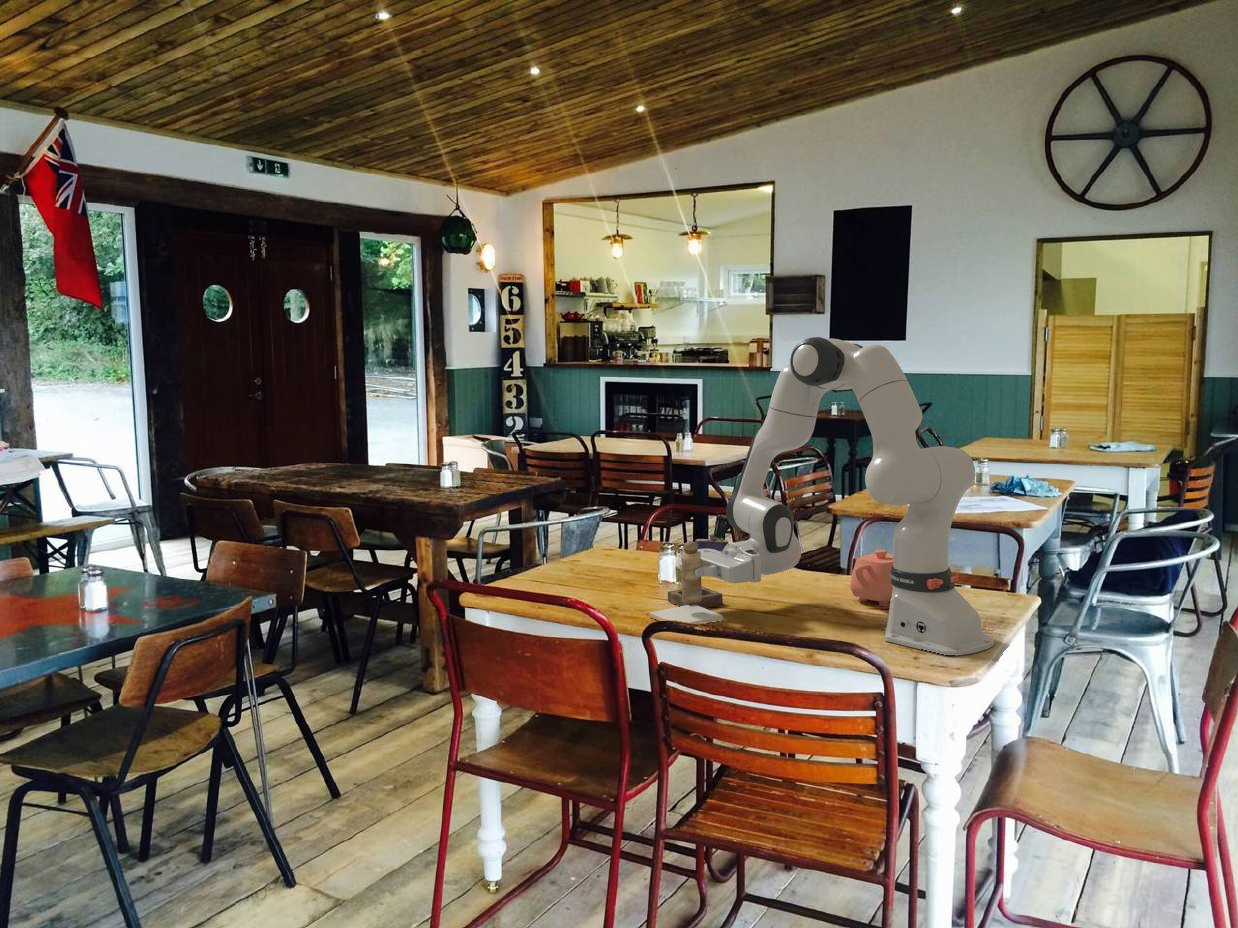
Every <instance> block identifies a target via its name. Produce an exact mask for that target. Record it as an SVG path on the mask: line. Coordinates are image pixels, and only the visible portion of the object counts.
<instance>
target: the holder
mask: <svg viewBox="0 0 1238 928" xmlns="http://www.w3.org/2000/svg"><path fill="white" fill-rule="evenodd" d="M701 586H702V601H700V602H695V603H689V602H684V601H683V600H682V588H681V589H676V590H671V591H667V602H668V601H669V602H671V603H670V604H672V603H673V604H672V605H674V604H676V605H675V606H677V605H678V606H677V607H679V606H685V605H689V606H690V605H698V606H700V607H703V608H705V609H707V608H710V607H715V606H721V605H723V604H724V603H723V602H724V601H723V593H721V592H718V591H715V590H714V589H710V588H707V587H706V586H703V585H701ZM669 602H668V603H669Z"/></svg>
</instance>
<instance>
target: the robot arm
mask: <svg viewBox="0 0 1238 928" xmlns="http://www.w3.org/2000/svg"><path fill="white" fill-rule="evenodd" d="M789 362H790V363H789V364H787V365H785V366H784V367H783V368H782V369H781V371H780V373H779V374H778V377H777V379H776V382H775V385H774V388H773V390H772V394H771V398H770V402H769V406H768V409H767V410H768V411H767V414H766V417H765V420H764V422H763V424H762V426H761V427H760V429H758V430H757V431H756V432H755V434H754V436H753V438H752V440H751V443H750V445H749V449H748V452H747V454H746V456H745V461H744V462H743V466H742V469H741V473H740V475H739V478H738V482H737V484H736V486H735V488H734V490H733V491H732V494H731V495H730V497H729V499H728V501H727V505H726V510H725V511H726V512H725V514H726V519H727V521H728V524H729V525H730V526H731V527H732V528H733V529H735V530H738V531H740V532H744V533H747V534H749V535H750V536H749V538H748V539H747V540H741V541H735V542H730V543H729V542H728V544H727V545H726V546H725V547H724V550H723V551H722V552H720V551H717V550H714V549H698V551H700V552H701V567H697V568H694V569H693V571H694V575H695V576H698V577H700V576H701V577H713V578H717V579H719V580H721V581H724V582H726V583H732V584H741V583H748V582H750V583H760V582H761V581H762V576H763V575H764V576H771V575H775V574H779V573H782V572H785V571H788V570H791V569H792V568H794V567H795V566H796V565H797V564H798V563H799V562H800V559H801V557H802V545H801V543H800V540H799V539H798V537H797V536H796V534H795V531H794V527H795V526H794V525H795V519H794V513H793V511H792V509H791V508H790V507H789V506H788V505H785V504H784V503H781V502H779V501H777V500H775V499H771V498H770V497H767V496H765V495H764V492H763V487H764V484H765V482H766V480H767V476H768V473H769V470H770V467H771V463H772V462H773V460H774V459H775V457H777V456H778V455H780V454H781V453H784V452H790V451H794V450H797V449H799V448H801V447H803V446H804V445H806V443H808V442H809V440H811V437H812V436H813V433H814V431H815V430H814V429H815V426H816V422H817V417H818V413H819V408H820V407H819V406H820V403H821V400H822V398H823V396H824V395H825V394H826V393H828V392H829V391H831V392H833V393H835V394H836V393H843V392H852V391H853V393H854V395H855V398H856V399H857V402H858V404H859V407H860V409H861V412H862V413H863V416H864V418H865V420H866V423H867V426H868V429H869V431H870V433H871V438H872V445H873V446H872V447H873V449H872V450H873V452H872V457H871V461H870V462H869V464H868V465H867V467H866V470H865V475H864V477H865V478H864V481H865V487H866V489H867V492H868V494H869V496H870V497H871V498H872V499H873V500H874V501H875V502H876V503H878V504H880V505H889V506H897V507H899V506H907V505H908V509H907V511H906V513H905V514H904V516H903V518H902V519H901V520H900V521H899V522H898V523H897V524H896V526H895V527H894V529H893V533H892V554H893V566H892V567H891V573H890V576H891V584H892V585H893V589H892V596H891V601H889V605H890V606H889V610H888V619H887V624H886V627H885V629H884V633H885V634H884V640H885V641H886V642H890V643H893V644H898V645H900V646H901V645H902V646H905V647H910V648H913V649H918V650H921V649H923V650H922V651H925V650H927V651H926V652H929V651H932V652H931V653H933V652H936V653H935V654H937V653H940V654H939V655H941V654H944V655H943V656H945V655H955V656H964V655H969V654H976V653H978V652H979V653H980V652H982V651H983V652H984V651H985V650H988V649H990V648H992V647H993V646H994V645H995V639H994V638H992V637H991V636H988V635H987V634H984V633H983V627H982V621H981V616H980V614H979V612H978V611H977V610H976V609H975V608H974V607H973V606H972V605H971V604H970V603H969V602H968V601H967V600H966V598H964V596H963V595H962V594H961V593H960V592H959V591H958V590H957V589H956V583H955V582H959V581H960V579H958V578H959V577H960V575H954V576H953V572H952V571H951V568H950V566H949V555H950V552H949V548H950V532H951V526H952V523H953V519H954V516H955V513H956V510H957V509H958V505H959V503H960V501H961V499H962V497H963V496H964V495H965V494H966V492H967V491H968V490H969V489H970V488H971V486H972V485H973V484H974V481H975V478H976V477H975V476H976V467H975V464H974V461H973V459H972V457H971V455H970V454H968V453H967V451H966V450H964V449H961V448H958V447H952V446H945V445H937V446H932V447H925V448H921V447H920V446H919V444H918V441H917V435H916V431H917V429H918V428H919V427H920V425H921V423H922V420H923V411H922V409H921V407H920V405H919V402H918V400H917V398H916V396H915V394H914V391H913V389H912V387H911V385H910V382H909V380H908V379H907V377H906V375H905V373H904V371H903V369H902V367H901V366H900V365H899V362H898V361H897V360H896V358H895V357H894V355H893V354H892V353H891V352H890V350H889V349H888V348H887V347H885V346H883V345H881V344H869V345H865V346H863V345H860V344H858V343H851V342H848V341H845V340H842V339H838V338H830V337H829V338H828V337H826V338H825V337H824V338H823V337H820V336H813V337H808V338H804V339H803V340H801V341H799V342H798V343H797V344H796V345H795V346H794V347H793V349H792V352H791V355H790V359H789ZM679 570H680V571H681V572H682V568H681V562H680V563H679Z"/></svg>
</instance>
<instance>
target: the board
mask: <svg viewBox="0 0 1238 928" xmlns="http://www.w3.org/2000/svg"><path fill="white" fill-rule="evenodd" d="M648 613H649V615H651V616H654V617H656V618H660V619H667V620H677V621H682V622H688V623H696V624H704V623H699V622H712V621H719V620H723V621H724V615H723V614H720V613H717V612H715V611H712V610H711V609H707V608H703V607H700V606H698V605H690V606H689V605H685V606H680V607H679V606H676V607H671V608H665V609H660V610H656V611H649V612H648Z"/></svg>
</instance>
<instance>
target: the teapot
mask: <svg viewBox="0 0 1238 928" xmlns="http://www.w3.org/2000/svg"><path fill="white" fill-rule="evenodd" d="M892 566H893V553H888V551H887V550H885V549H876V550H875V551H874V552H872V553H869V554H865V555H861V556H859V557H858V558H857V559H856V560H855V563H854V567H853V569H852V574H851V578H850V590H851V592H852V595H853V596H854V597H857V598H858V600H857V602H858V603H859V602H860V603H868V602H869V601H875V602H878V606H879V607H880V608H881V607H882V608H883V607H884V608H886V607H890V601H891V596H892V589H893V585H892V584H891V576H890V573H891V567H892Z"/></svg>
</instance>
